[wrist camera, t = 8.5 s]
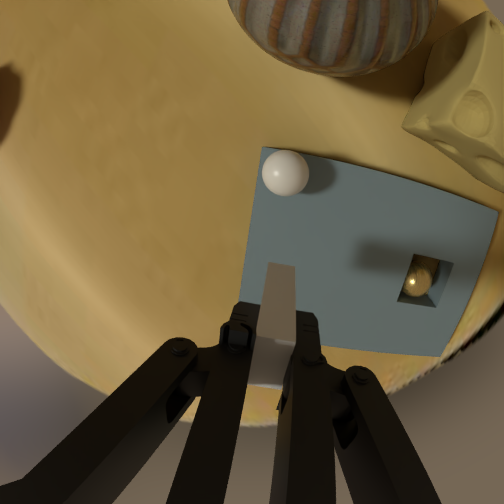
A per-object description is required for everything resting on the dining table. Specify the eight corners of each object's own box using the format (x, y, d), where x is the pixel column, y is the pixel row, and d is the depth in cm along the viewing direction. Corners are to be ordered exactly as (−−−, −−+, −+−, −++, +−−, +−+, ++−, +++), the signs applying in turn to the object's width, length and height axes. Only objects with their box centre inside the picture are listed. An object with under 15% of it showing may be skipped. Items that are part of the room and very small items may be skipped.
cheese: (397, 129, 21) (457, 123, 11) (430, 36, 17) (486, -1, 7) (479, 187, 21) (547, 212, 12) (507, 99, 17) (573, 95, 8)
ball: (422, 270, 21) (443, 271, 22) (399, 254, 24) (421, 256, 24) (408, 304, 22) (430, 302, 23) (388, 286, 25) (410, 286, 26)
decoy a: (267, 146, 20) (263, 146, 17) (311, 154, 20) (314, 155, 17) (261, 188, 21) (256, 195, 18) (303, 196, 21) (305, 204, 18)
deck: (265, 146, 23) (262, 146, 20) (484, 206, 21) (498, 212, 19) (238, 315, 28) (234, 329, 26) (432, 343, 27) (440, 356, 25)
